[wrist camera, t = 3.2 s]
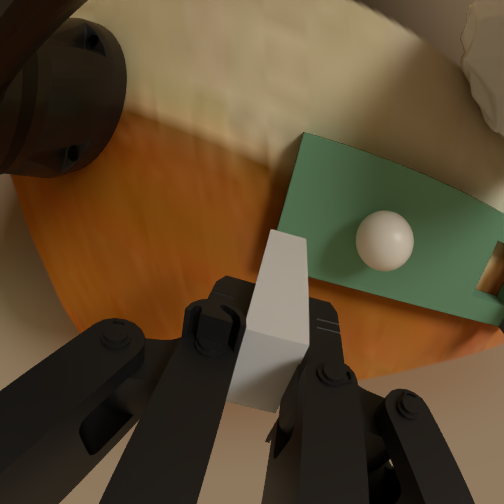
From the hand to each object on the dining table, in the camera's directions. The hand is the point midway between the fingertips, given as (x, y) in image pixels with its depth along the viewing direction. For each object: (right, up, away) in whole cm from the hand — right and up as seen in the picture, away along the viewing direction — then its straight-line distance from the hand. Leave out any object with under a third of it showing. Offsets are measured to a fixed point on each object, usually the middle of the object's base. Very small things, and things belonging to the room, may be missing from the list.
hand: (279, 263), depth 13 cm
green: (+15, +1, +9) cm, 18 cm away
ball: (+8, +2, +8) cm, 11 cm away
